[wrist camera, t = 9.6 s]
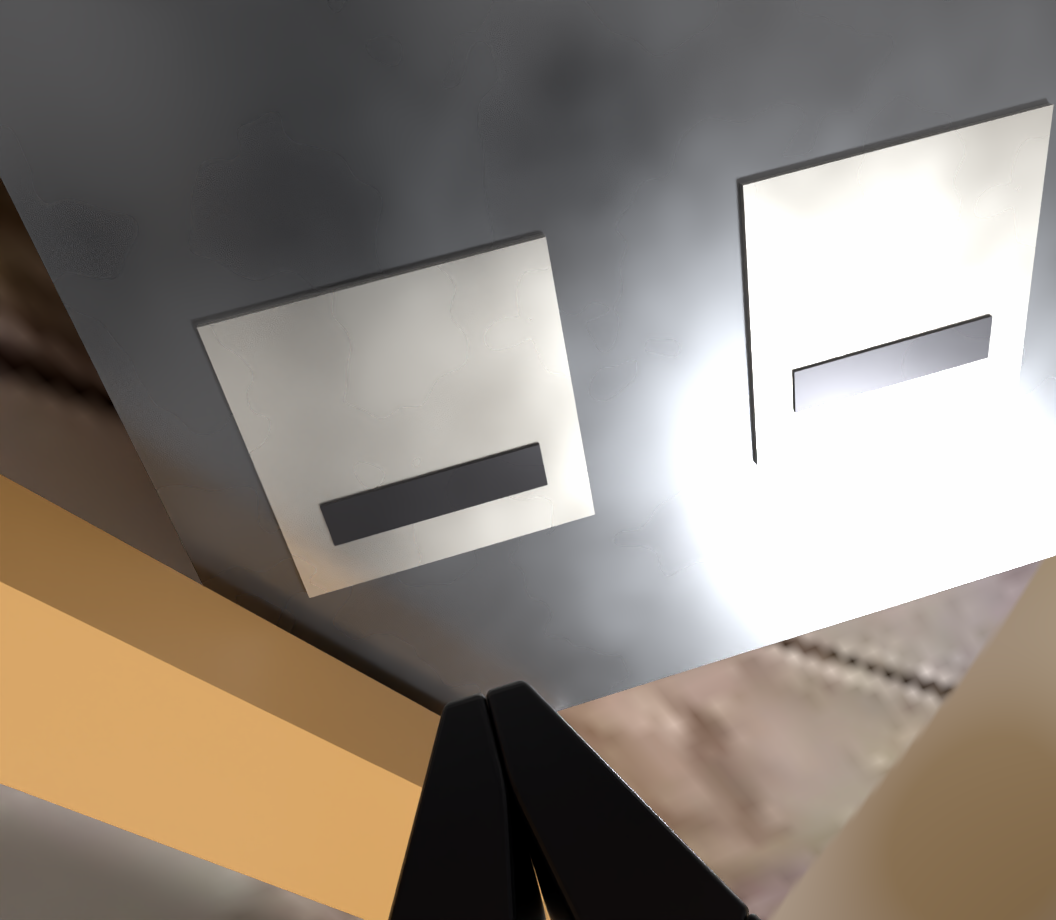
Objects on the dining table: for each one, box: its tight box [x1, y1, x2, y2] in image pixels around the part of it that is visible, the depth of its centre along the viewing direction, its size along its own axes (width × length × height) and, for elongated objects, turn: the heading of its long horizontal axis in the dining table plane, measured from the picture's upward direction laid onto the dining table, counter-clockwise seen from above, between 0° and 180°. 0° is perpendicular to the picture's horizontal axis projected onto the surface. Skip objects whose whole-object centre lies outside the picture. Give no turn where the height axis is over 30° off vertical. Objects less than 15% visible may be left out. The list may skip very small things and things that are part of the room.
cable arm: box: [0, 474, 550, 920], centre depth 15 cm, size 17×3×2 cm, turn 43°
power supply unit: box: [0, 0, 1056, 716], centre depth 17 cm, size 18×16×3 cm
